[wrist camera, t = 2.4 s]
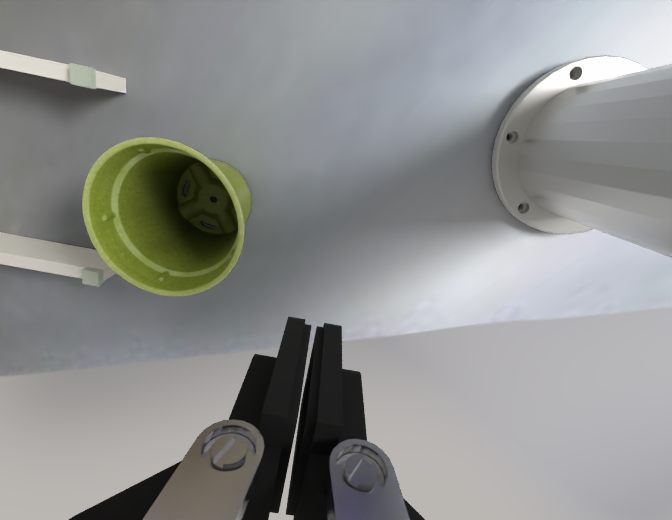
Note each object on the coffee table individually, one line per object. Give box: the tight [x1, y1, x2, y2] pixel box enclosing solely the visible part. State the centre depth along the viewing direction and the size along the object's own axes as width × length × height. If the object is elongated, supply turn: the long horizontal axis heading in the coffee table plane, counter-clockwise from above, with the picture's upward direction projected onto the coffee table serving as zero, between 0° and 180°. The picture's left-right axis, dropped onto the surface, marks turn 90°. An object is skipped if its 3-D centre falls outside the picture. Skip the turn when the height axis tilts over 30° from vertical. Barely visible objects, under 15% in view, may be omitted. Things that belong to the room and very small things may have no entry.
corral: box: [0, 50, 126, 287], centre depth 25 cm, size 13×15×4 cm
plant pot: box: [82, 137, 252, 296], centre depth 24 cm, size 9×9×9 cm
